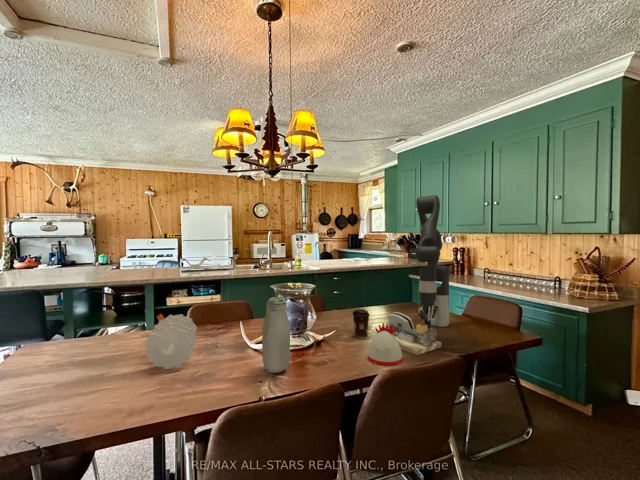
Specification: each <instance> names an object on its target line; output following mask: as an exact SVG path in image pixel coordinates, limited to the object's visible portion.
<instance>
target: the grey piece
mask: <svg viewBox="0 0 640 480" xmlns="http://www.w3.org/2000/svg"><path fill="white" fill-rule="evenodd" d="M387 318H388V325H389V326H391V324H394V325H396V326H397V323H398V322H399V323H402V326H403V327H406V328H409V329H413V330H416V328H415V325H414V323H413V320H412V318H411V317H409V316H408V315H406V314H404V313H402V312H398V311H395V312H391V313H389V314H388V315H387Z"/></svg>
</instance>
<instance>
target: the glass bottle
mask: <svg viewBox="0 0 640 480" xmlns="http://www.w3.org/2000/svg"><path fill="white" fill-rule="evenodd" d="M287 306H288V303H287V302H286V300H285V298H284V297H283V296H273V297H270V298H269V299H268V300H267V301H266V306H265V307H266V312H265V316H264V321H263V324H262V328H261V329H262V330H261V347H262V349H261V350H262V351H261V352H262V355H261V356H262V363H263V367H264V368H265V370H266V371H267V372H269V373H271V374H279V373H282V372H283V371H284V370H286V369H287V367H288V366H289V363H290V360H291V325H290V320H289V317H288V310H287V309H288V307H287Z"/></svg>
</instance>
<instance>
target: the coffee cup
mask: <svg viewBox="0 0 640 480" xmlns="http://www.w3.org/2000/svg"><path fill="white" fill-rule="evenodd" d="M352 315H353V319H352V322H353V330H354V337H355V338H357V339H367V338H368V335H369V334H368V332H369V319H370V313H369V311H368V310H366V309H364V308H361V309H360V308H357V309H354V310H353V311H352Z"/></svg>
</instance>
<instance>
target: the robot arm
mask: <svg viewBox="0 0 640 480" xmlns="http://www.w3.org/2000/svg"><path fill="white" fill-rule="evenodd" d="M415 203H416V209H417V210H416V211H417V214H418V218H419V222H420V227H421V229H420V238H419V239H420V240H419V242H418V245H417V247H416V249H415V254H414V256H415V259H416V260H417V261H418V262H421V263H427V264H426V265H427V266H422V267H421V268H419V282H418V283H419V284H418V301H419V302H420V305H419V306H420V307H419V308H417V309H416V312H417V314H418V316H419V318H420V319H421V320H423V321H424V324H425V325H428V329H430V328H432V326H435V327H440V328H441V327H443V328H444V327H448V326H449V325H450V307H449V300H450V298H449V297H450V296H449V293H450V275H451V272H450V267H449V266H448V265H438V263H439V260H440V258H441V250H442V247H443V241H442V240H443V239H442V235H441V233H440V230H439V229H438V228H437V226H438V221H439V216H440V211H441V201H440V198H439V196H438V195H436V194H431V195H426V196H424V195H423V196H418V197H416V202H415ZM427 215H430V216H429V217H427ZM437 283H441V284H440V285H439V286H437Z"/></svg>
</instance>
